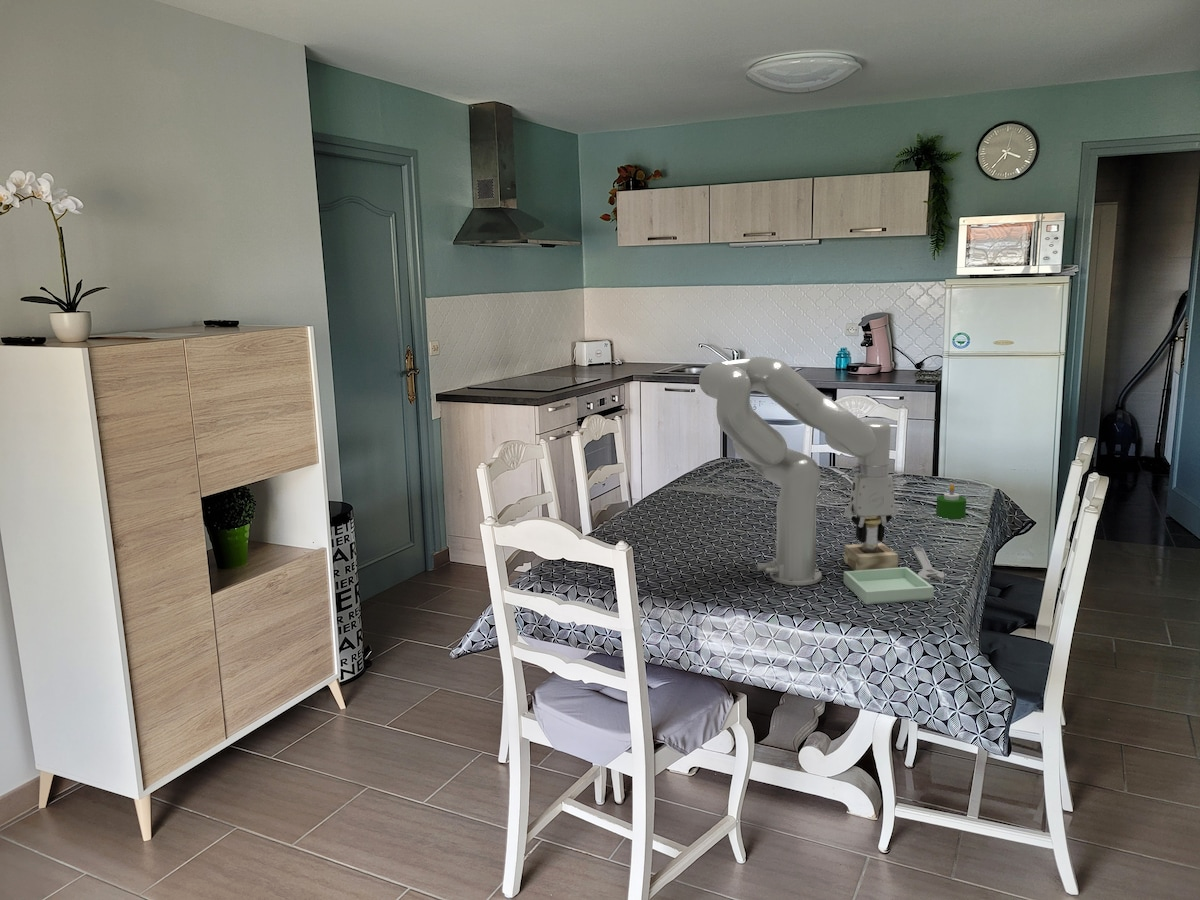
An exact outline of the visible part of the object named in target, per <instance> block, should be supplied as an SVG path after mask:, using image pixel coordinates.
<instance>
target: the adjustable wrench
mask: <svg viewBox="0 0 1200 900" xmlns="http://www.w3.org/2000/svg"><path fill="white" fill-rule="evenodd" d="M913 552H914V553H913ZM912 553H913V555H914V554H915V555H914V556H916V557H915V558H917V559H916V561H917V560H918V561H917V562H919V563H918V565H919V564H920V565H919V566H921V567H920V568H922V569H921V570H920V571H918V573H917V575H918V576H920V577H921V578H922V579H924V580H925V581H926V582H928V583H930V584H931V579H935V580H936V579H937V580H939V581H940V582H939V581H938V582H939V583H942V582H941V581H944V582H945V577H946V575H945V574H946V572H944V571H940V570H937V569H935V568H934V567H933V566H932V564H931V562H930V560H929V558H928V556H927V553H926V551H925V549H924V547H920V546H915V547H914V546H913V548H912ZM929 577H931V579H930V578H929ZM937 580H936V581H937Z"/></svg>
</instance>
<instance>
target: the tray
mask: <svg viewBox="0 0 1200 900" xmlns="http://www.w3.org/2000/svg"><path fill="white" fill-rule="evenodd" d="M842 580H843V582H842V583H843V585H845V587H847V588H848V589H849V590H850V591H851V592H854V593H853V594H854V595H856V596H857V597H858V598H859V599H860V600H861V601H862V602H863V603H864V604H865V605H878V604H891V603H904V602H918V601H919V600H920V601H929V600H930V599H933V600H934V597H935V594H934V593H935V587H934V586H933V585H932V584H931V583H930V584H929V583H928V582H926V581H925V580H924V579H922V578H921V577H920V576H918V573H916V572H915V571H914V570H912V569H911V568H909V567H908V566H904V567H898V568H886V569H871V570H857V571H855V570H846V571H843V579H842ZM920 601H919V602H920ZM930 601H931V600H930Z"/></svg>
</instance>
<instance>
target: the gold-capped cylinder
mask: <svg viewBox="0 0 1200 900" xmlns="http://www.w3.org/2000/svg"><path fill="white" fill-rule="evenodd" d="M881 521H882V519H881V518H880V517H877V516H871V517H865V520H864V524H863V525H864V526H863V527H865V542H864V543H862V542H861V543H860V544H861V551H862V552H863V553H865V554H869V553H878V543H879V541H878V533H879V524H881Z"/></svg>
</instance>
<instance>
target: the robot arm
mask: <svg viewBox="0 0 1200 900" xmlns="http://www.w3.org/2000/svg"><path fill="white" fill-rule="evenodd" d="M698 379H699V380H698V383H699V387H700V389H701V391H702V392H703V393H704V394H705V395H707V397H710V398H712V399H715V400H716V417H717V418H716V419H717V423H718V425H719V428H721V430H722V431H723V432H724V434H725V435H726V436H728V438H730V439H731V440H732V447H733V450H734V451H735V453H736V454H737V455H738V456H739V458H740V459H742V460H743V462H745V463H747V465H748V466H750V467H752V469H753V470H754V471H756V472H757V473H758V474H760V475H761V476H762V477H763V478H764V479H765V480H767V481H768V482H770V483H773V484H774V485H776V486H778V487H780V493H779V495H778V498H777V504H776V547H775V548H776V550H775V551H776V557H772V561H769V562H761V563H760V562H759V563H757V564H756V569H757V571H758V572H761V571H763V572H765V574H769V577H770V579H771V580H772V581H774V582H776V583H778V584H782V585H785V586H786V585H787V586H798V587H800V586H802V587H803V586H810V585H814V584H817V583H819V582H820V581H821V580H822V575H823V574H822V572H821V571H820V570H819V569H818V568H816V558H817V557H816V556H817V555H816V552H817V551H816V549H817V547H816V546H817V545H816V544H817V536H816V535H817V505H818V504H817V503H818V494H819V488H820V485H821V484H820V483H821V477H822V476H821V474H822V473H821V470H820V467H819V465H818V463H817V462H816V461H815V459H813V458H812V457H810V456H809V455H807V454H804V453H802V452H800V451H799V452H798V451H796V450H793V449H790V448H789V447H788V444H787V441H786V439H785V437H784V435H782V433H780V432H779V430H777V429H775V428H774V427H773V426H772V425H770V424H769V423H768V422H767V421H766V420H765V419H763V418H762V417H761V416H760V415H759V414H758V413H757V412H756V411H755V410H754V409H753V407H752V405H751V392H759V393H763V394H765V395H766V396H767V397H769V398H770V399H771V400H772V401H774V402H775V403H776V404H777V405H779V406H780V407H781V408H782V409H784V411H786V412H787V413H788V414H789V415H791V416H792V417H793V418H795V419H796V420H797V421H799V422H800V423H803V424H804V425H806V426H808V427H811V428H813V429H815V430H818V431H819V432H822V433H824V438H825V442H826V444H827V445H828V446H829V447H830V448H831V449H833V450H835V451H837V452H841V453H843V454H846V455H849V456H852V457H854V458H857V462H856V465H855V466H852V467H851V472H852V473H856V474H855V475H854V476H853V477H854V478H853V481H852V486H851V490H850V497H849V498H850V499H849V505H848V506H847V508H846V509H845V510H844V512H843V515H844V517H846V518H848V520H851V521H852V522H853V523H854V524H855V530H856V531H855V538H856V539H857V541H859V542H861V544H862V543H864V542H865V527H863V526H864V525H863V524H864V520H865V517H871V516H877V517H880V518H881V519H882V521H881V524H879V533H878V542H879V543H883V542H884V541H883V539H884V537H885V527H887V524H888V523H889V522H890V521H891V520H892V519H893V518H894V517H896V516H897V515H898V514H899V510H898V509H897V507H896V505H895V489H894V488H895V487H894V482H893V477H892V475H890V474H889V471H890V469H889V468H890V452H891V450H890V447H891V425H890V423H888V422H887V421H884V420H883V421H882V420H865V421H862V420H861V419H860V418H859V417H857V416H856V415H855V414H853V413H852V412H850V411H849V410H848V409H846V408H845V407H843V406H842V405H840V404H838V403H837V402H836V401H834V400H833V399H832V398H830V397H829V396H827V395H825V394H824V393H823V392H821V391H820V390H818V389H817V388H816V387H814V386H813V385H812V383H810V382H809V381H807V379H805V378H804V377H803V376H802V375H800V374H799V373H798V372H797V371H796V370H794V369H793V368H792V367H790V365H789V364H787V363H786V362H784V361H782V360H780V359H776V358H771V357H766V356H752V357H746V358H739V359H732V360H726V361H725V360H723V361H716V362H712V363H710V364H707V365H706V366H705V367H704V368H703V369H702V370H701V371H700V374H699V378H698ZM853 513H854V514H855V515H854V514H853Z"/></svg>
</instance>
